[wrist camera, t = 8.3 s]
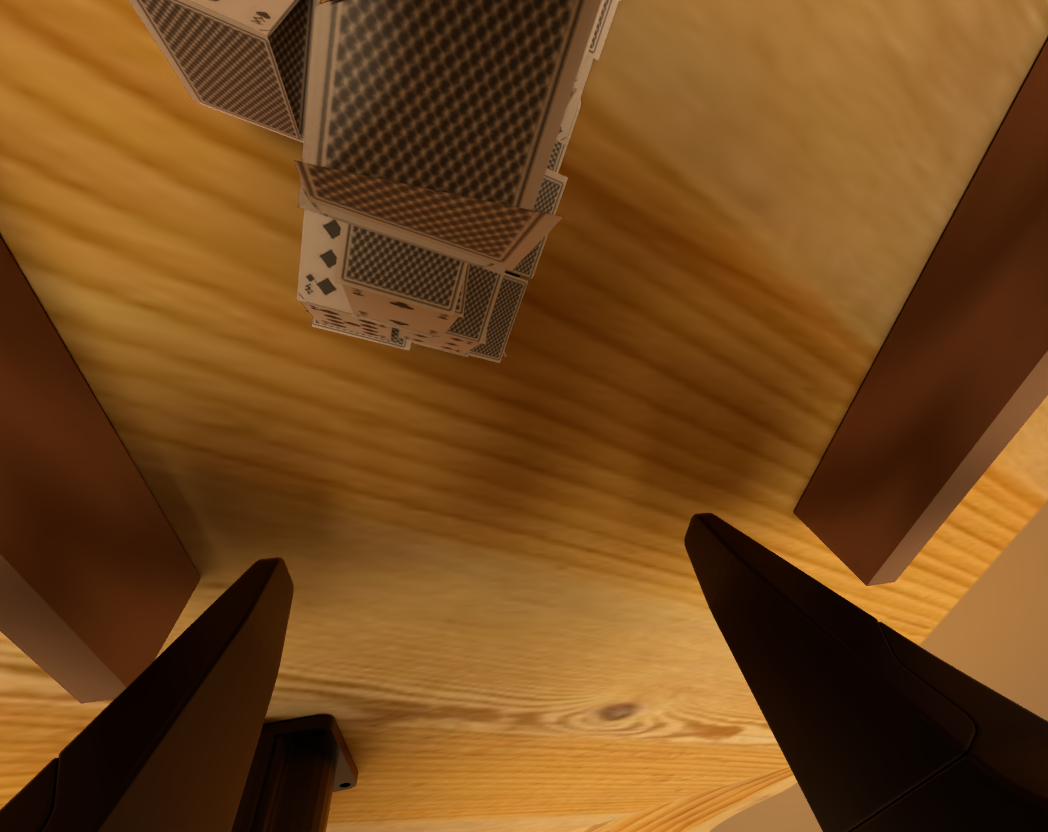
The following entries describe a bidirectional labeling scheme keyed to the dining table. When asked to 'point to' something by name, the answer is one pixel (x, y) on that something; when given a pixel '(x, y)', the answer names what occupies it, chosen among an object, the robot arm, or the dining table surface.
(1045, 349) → the wooden arch
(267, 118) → the house of cards
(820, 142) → the dining table surface
